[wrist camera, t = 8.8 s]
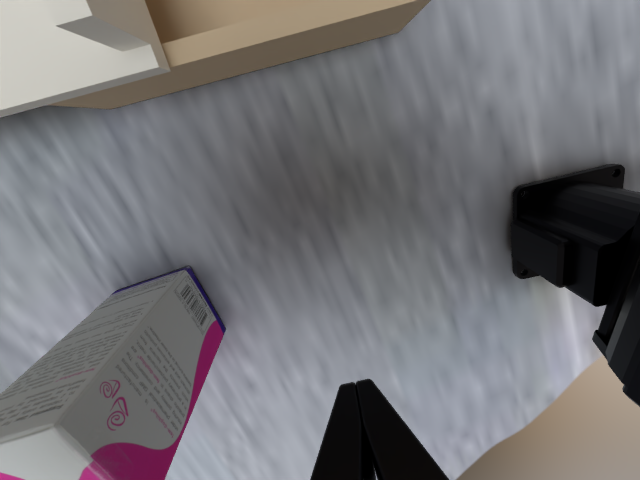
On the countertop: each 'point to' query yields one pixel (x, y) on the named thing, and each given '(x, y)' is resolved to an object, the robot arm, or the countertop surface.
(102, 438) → the supplement box
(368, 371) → the countertop surface
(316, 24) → the base
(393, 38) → the countertop surface
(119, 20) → the lid
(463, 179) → the countertop surface
